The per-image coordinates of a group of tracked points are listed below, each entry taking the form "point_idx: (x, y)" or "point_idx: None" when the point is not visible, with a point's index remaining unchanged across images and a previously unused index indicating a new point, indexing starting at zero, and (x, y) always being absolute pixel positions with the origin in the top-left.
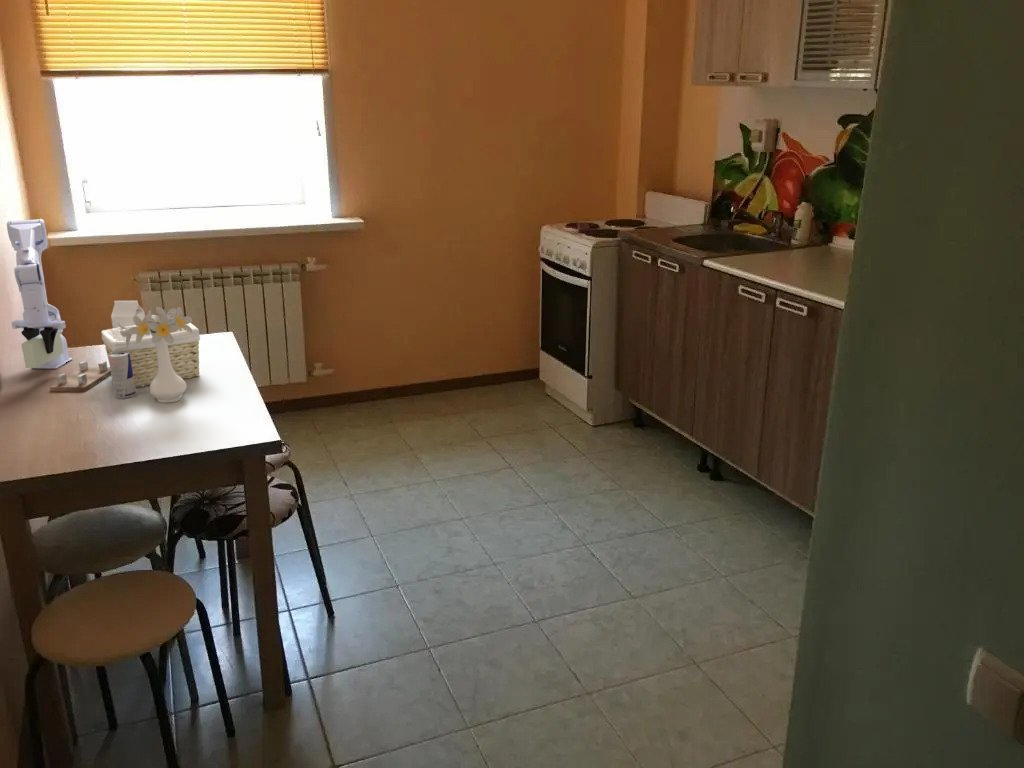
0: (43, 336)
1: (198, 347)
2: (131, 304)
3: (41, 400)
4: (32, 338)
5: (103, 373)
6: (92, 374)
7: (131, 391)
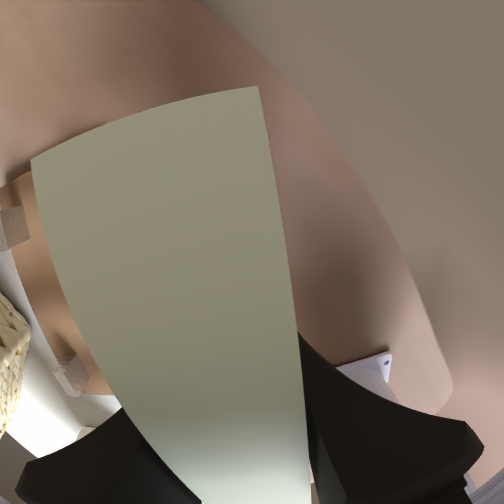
0: (109, 462)
1: None
2: None
3: (79, 55)
4: (298, 431)
5: (51, 337)
6: (70, 325)
7: None
